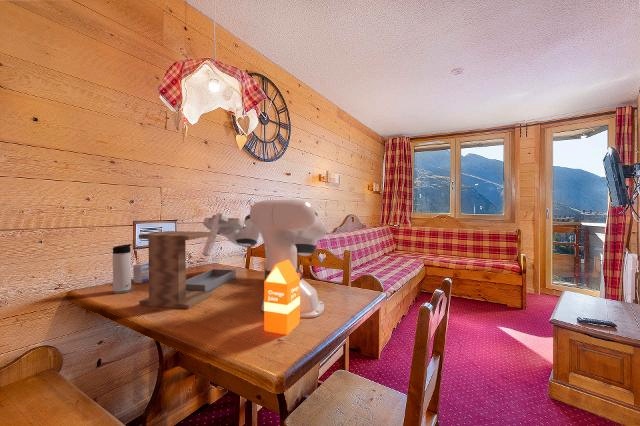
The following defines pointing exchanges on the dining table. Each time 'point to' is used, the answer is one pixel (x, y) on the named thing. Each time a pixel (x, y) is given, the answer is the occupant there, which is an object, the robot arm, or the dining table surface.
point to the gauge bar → (212, 238)
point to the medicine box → (141, 272)
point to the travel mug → (121, 269)
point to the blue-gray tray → (210, 280)
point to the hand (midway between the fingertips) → (216, 216)
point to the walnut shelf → (170, 270)
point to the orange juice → (282, 299)
